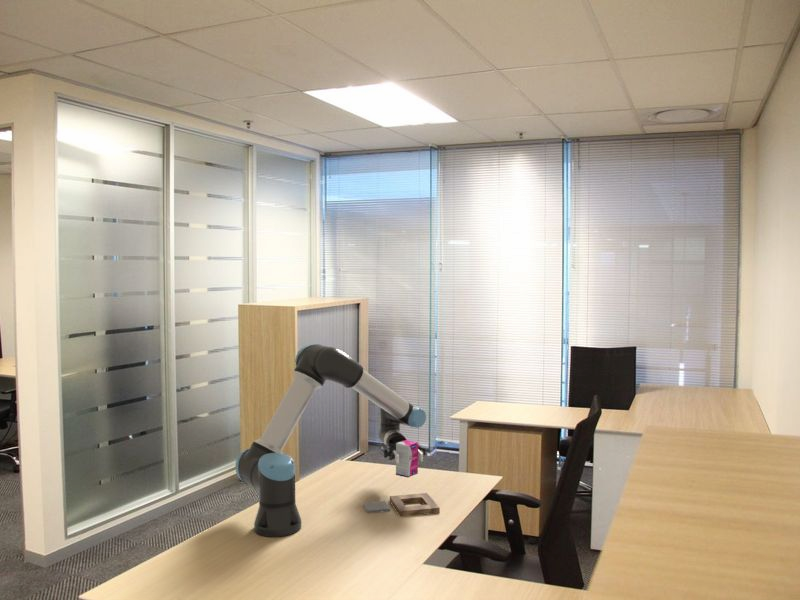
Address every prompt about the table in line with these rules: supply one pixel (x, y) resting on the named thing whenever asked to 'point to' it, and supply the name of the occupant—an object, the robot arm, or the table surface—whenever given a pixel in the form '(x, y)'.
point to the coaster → (376, 506)
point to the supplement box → (407, 458)
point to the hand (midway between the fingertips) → (410, 458)
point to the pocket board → (414, 510)
